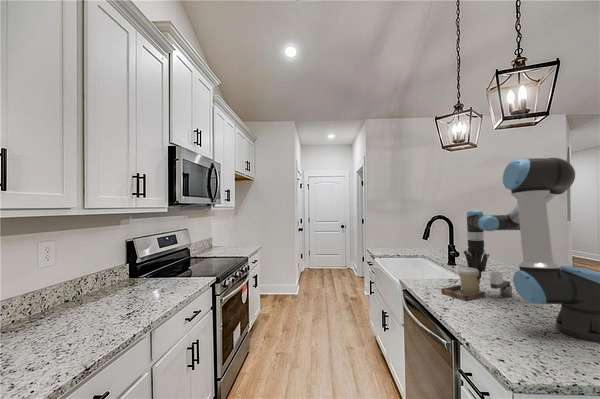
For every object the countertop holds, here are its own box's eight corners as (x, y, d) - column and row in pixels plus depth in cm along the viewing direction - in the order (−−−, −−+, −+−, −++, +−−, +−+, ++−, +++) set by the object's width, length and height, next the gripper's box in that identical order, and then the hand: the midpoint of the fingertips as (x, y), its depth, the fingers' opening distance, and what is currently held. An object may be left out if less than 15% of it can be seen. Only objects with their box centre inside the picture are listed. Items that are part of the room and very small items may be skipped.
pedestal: (514, 296, 145) (514, 286, 145) (508, 297, 143) (508, 287, 143) (504, 293, 150) (503, 283, 150) (498, 295, 148) (497, 285, 148)
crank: (504, 284, 149) (503, 269, 149) (511, 285, 146) (511, 271, 146) (489, 287, 144) (489, 272, 144) (497, 289, 141) (496, 274, 141)
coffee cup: (484, 295, 146) (481, 271, 146) (464, 295, 149) (461, 272, 148) (477, 288, 155) (475, 266, 155) (458, 289, 158) (456, 267, 157)
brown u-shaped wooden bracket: (485, 296, 146) (484, 291, 146) (466, 301, 140) (466, 296, 140) (459, 289, 158) (459, 284, 158) (441, 293, 152) (441, 288, 152)
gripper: (492, 240, 150) (494, 285, 150) (468, 237, 162) (470, 279, 162) (483, 241, 147) (484, 288, 147) (459, 238, 159) (461, 281, 159)
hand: (477, 283), depth 154 cm, fingers closed
